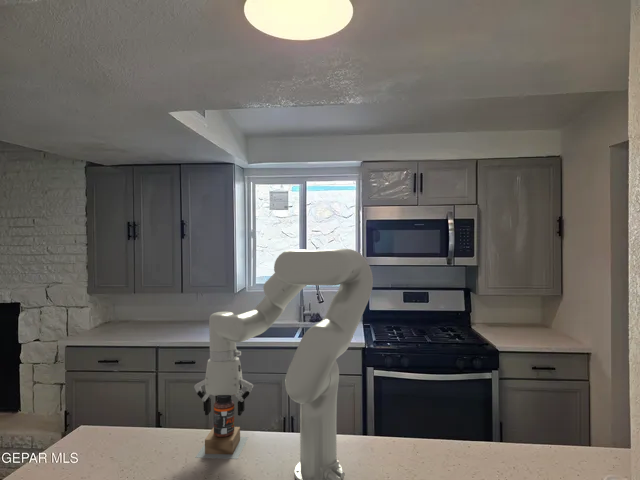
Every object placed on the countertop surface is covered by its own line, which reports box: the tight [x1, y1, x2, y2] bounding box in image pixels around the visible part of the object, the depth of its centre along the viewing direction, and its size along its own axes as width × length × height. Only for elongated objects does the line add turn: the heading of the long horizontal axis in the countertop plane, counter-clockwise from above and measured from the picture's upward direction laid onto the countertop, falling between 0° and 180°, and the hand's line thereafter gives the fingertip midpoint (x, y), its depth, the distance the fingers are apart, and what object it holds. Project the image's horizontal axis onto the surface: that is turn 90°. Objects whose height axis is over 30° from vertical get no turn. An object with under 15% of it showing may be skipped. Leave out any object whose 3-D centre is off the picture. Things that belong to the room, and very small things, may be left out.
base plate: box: [195, 436, 249, 460], centre depth 115 cm, size 12×12×1 cm
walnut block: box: [204, 426, 241, 455], centre depth 115 cm, size 8×8×4 cm
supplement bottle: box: [213, 395, 235, 437], centre depth 115 cm, size 6×6×11 cm
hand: (224, 413), depth 115 cm, fingers open, 9 cm apart
